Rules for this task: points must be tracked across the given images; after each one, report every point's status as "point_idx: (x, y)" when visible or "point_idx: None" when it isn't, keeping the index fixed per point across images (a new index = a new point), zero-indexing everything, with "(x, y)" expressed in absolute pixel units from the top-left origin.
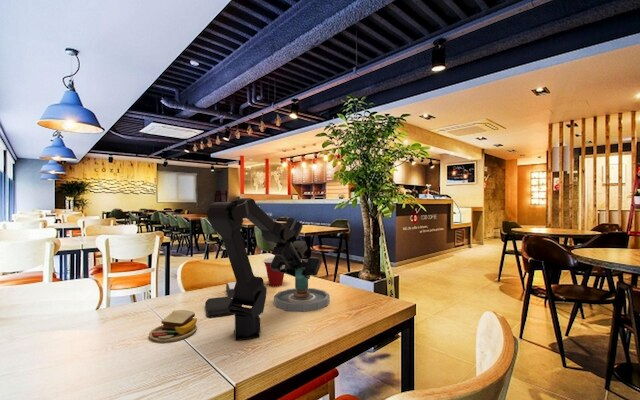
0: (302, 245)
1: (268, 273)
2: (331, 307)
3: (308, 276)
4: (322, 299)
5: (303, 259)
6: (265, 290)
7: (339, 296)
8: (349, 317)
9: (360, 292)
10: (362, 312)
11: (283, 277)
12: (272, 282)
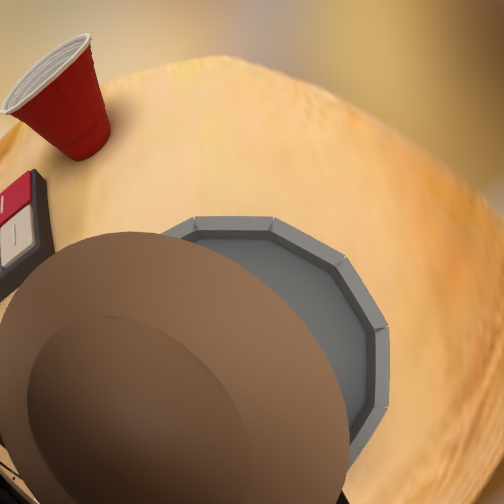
0: None
1: (39, 134)
2: (393, 412)
3: None
4: (365, 422)
5: (129, 246)
6: (42, 254)
7: (396, 242)
8: (448, 476)
9: (444, 182)
10: (485, 414)
11: (102, 114)
12: (68, 153)
